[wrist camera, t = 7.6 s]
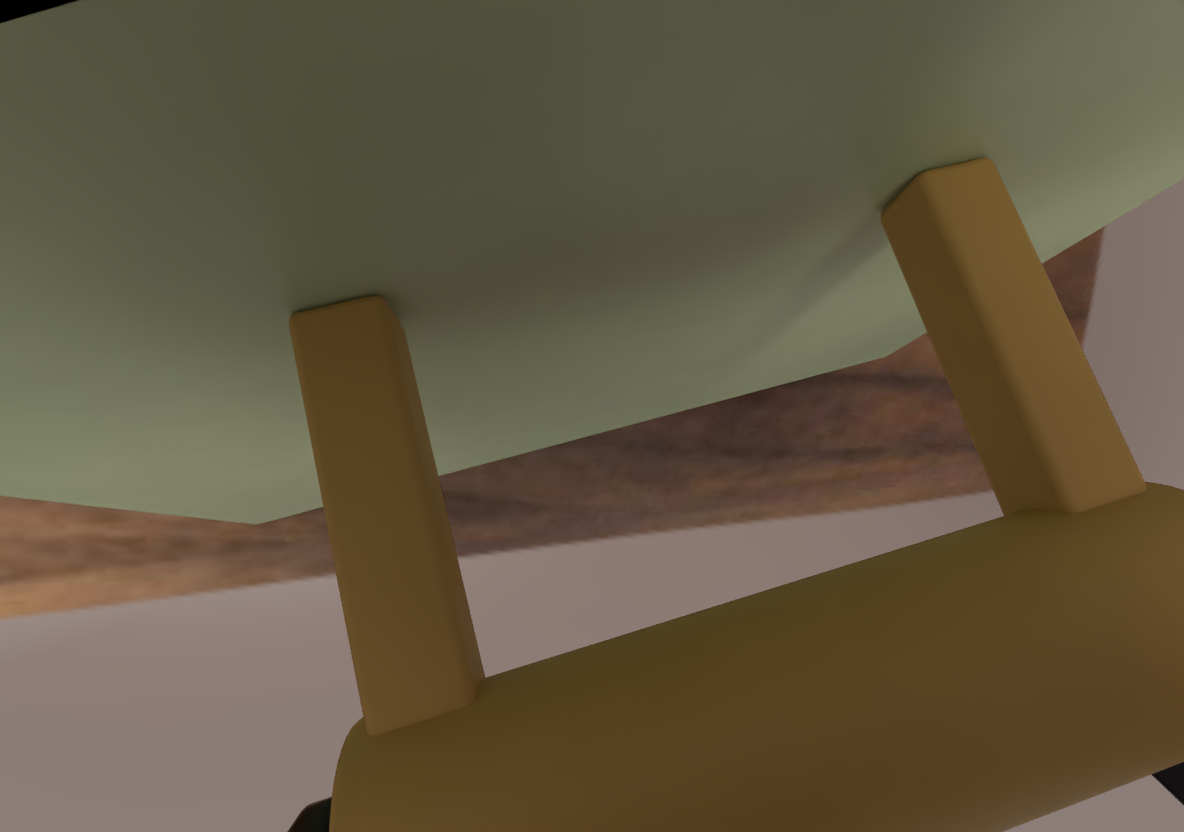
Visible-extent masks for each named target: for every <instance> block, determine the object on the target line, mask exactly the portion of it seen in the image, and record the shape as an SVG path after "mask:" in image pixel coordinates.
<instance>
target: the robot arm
mask: <svg viewBox="0 0 1184 832" xmlns="http://www.w3.org/2000/svg"><path fill="white" fill-rule="evenodd" d="M1151 775H1152V776H1154V777H1155V778H1156V779H1157V780H1158V781H1159V782H1160V783H1161V784H1162V785H1163V786H1164V787H1165V788H1166V789H1167V790H1168V791H1169V792H1170V793H1171V794H1172V795H1173V796H1174V797H1175V798H1177V799H1178V800H1179V801H1180V802H1181V803H1182V804H1183V805H1184V762H1182V763H1179V764H1177V765H1174V766H1172V767H1169V768H1166V769H1164V770H1161V771H1159V772H1156V773H1153V774H1151ZM331 800H332V797H330V798H327V799H324V800H321V801H318V802H314V803H312V804H310V805H308V806H306V807H305V808H304V809H303V810H302V811H301V813H300V814H299V816H298V817H297V819H296V820H295V821H294V823H293V824H292V826H291V827H290V829H289V830H288V832H329V824H330V812H331Z"/></svg>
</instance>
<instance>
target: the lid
mask: <svg viewBox="0 0 1184 832" xmlns="http://www.w3.org/2000/svg"><path fill="white" fill-rule="evenodd" d="M1182 179H1184V0H0V496H8V497H17V498H26V499H35V500H43V501H52V502H61V503H70V504H79V505H88V506H96V507H105V508H114V509H123V510H132V511H141V512H150V513H158V514H167V515H176V516H185V517H194V518H203V519H211V520H220V521H229V522H238V523H247V524H256V525H257V524H261V523H265V522H269V521H272V520H276V519H280V518H284V517H287V516H291V515H295V514H299V513H302V512H306V511H310V510H314V509H317V508H321V507H323V508H324V513H325V518H326V523H327V529H328V534H329V539H330V544H331V550H332V555H333V560H334V565H335V570H336V576H337V581H338V586H339V591H340V597H341V602H342V607H343V612H344V618H345V623H346V628H347V633H348V638H349V644H350V649H351V654H352V659H353V665H354V670H355V675H356V680H357V686H358V691H359V696H360V701H361V707H362V712H363V718H362V719H360V720H359V721H358V722H357V723H356V724H355V725H354V726H353V727H352V729H351V730H350V732H349V734H348V735H347V737H346V740H345V742H344V745H343V747H342V750H341V753H340V757H339V760H338V764H337V769H336V774H335V779H334V786H333V793H332V800H331V812H330V824H329V832H1003V831H1006V830H1008V829H1011V828H1013V827H1016V826H1018V825H1021V824H1024V823H1026V822H1029V821H1031V820H1034V819H1037V818H1039V817H1042V816H1044V815H1047V814H1050V813H1052V812H1054V811H1057V810H1060V809H1063V808H1065V807H1068V806H1070V805H1073V804H1076V803H1078V802H1081V801H1083V800H1086V799H1089V798H1091V797H1094V796H1096V795H1099V794H1102V793H1104V792H1107V791H1109V790H1112V789H1114V788H1117V787H1120V786H1122V785H1125V784H1127V783H1130V782H1133V781H1135V780H1138V779H1140V778H1143V777H1145V776H1148V775H1151V774H1153V773H1156V772H1159V771H1161V770H1164V769H1166V768H1169V767H1172V766H1174V765H1177V764H1179V763H1182V762H1184V490H1182V489H1178V488H1175V487H1172V486H1168V485H1162V484H1157V483H1150V482H1145V481H1144V479H1143V477H1142V475H1141V473H1140V471H1139V469H1138V467H1137V464H1136V463H1135V460H1134V458H1133V456H1132V454H1131V452H1130V450H1129V447H1128V446H1127V443H1126V441H1125V439H1124V437H1123V435H1122V433H1121V431H1120V428H1119V426H1118V424H1117V422H1116V420H1115V418H1114V416H1113V414H1112V411H1111V409H1110V407H1109V405H1108V403H1107V401H1106V399H1105V397H1104V395H1103V392H1102V390H1101V388H1100V386H1099V384H1098V382H1097V380H1096V378H1095V375H1094V373H1093V371H1092V369H1091V367H1090V365H1089V363H1088V361H1087V359H1086V356H1085V354H1084V352H1083V350H1082V348H1081V346H1080V344H1079V341H1078V339H1077V337H1076V335H1075V333H1074V331H1073V329H1072V327H1071V325H1070V322H1069V320H1068V318H1067V316H1066V314H1065V312H1064V310H1063V308H1062V305H1061V303H1060V301H1059V299H1058V297H1057V295H1056V293H1055V291H1054V289H1053V286H1052V284H1051V282H1050V280H1049V278H1048V276H1047V274H1046V272H1045V269H1044V267H1043V265H1042V263H1043V262H1045V261H1047V260H1048V259H1050V258H1052V257H1053V256H1055V255H1057V254H1059V253H1060V252H1062V251H1064V250H1065V249H1067V248H1069V247H1070V246H1072V245H1074V244H1075V243H1077V242H1079V241H1080V240H1082V239H1084V238H1085V237H1087V236H1089V235H1090V234H1092V233H1094V232H1095V231H1097V230H1099V229H1100V228H1102V227H1104V226H1105V225H1107V224H1109V223H1110V222H1112V221H1114V220H1115V219H1117V218H1119V217H1120V216H1122V215H1124V214H1125V213H1127V212H1129V211H1130V210H1132V209H1134V208H1135V207H1137V206H1139V205H1140V204H1142V203H1144V202H1145V201H1147V200H1149V199H1150V198H1152V197H1154V196H1156V195H1157V194H1159V193H1161V192H1162V191H1164V190H1165V189H1167V188H1169V187H1171V186H1172V185H1174V184H1175V183H1177V182H1179V181H1181V180H1182ZM926 332H927V333H928V335H929V338H930V340H931V343H932V345H933V347H934V350H935V352H936V355H937V357H938V359H939V362H940V364H941V366H942V369H943V371H944V374H945V376H946V378H947V381H948V383H949V386H950V388H951V390H952V393H953V395H954V397H955V400H956V402H957V405H958V407H959V409H960V412H961V414H962V417H963V419H964V421H965V424H966V426H967V428H968V431H969V433H970V436H971V438H972V440H973V443H974V445H975V448H976V450H977V452H978V455H979V457H980V459H981V462H982V464H983V467H984V469H985V471H986V474H987V476H988V479H989V481H990V483H991V486H992V488H993V491H994V493H995V495H996V498H997V500H998V502H999V505H1000V507H1001V509H1002V512H1003V514H1004V516H1003V517H1000V518H997V519H994V520H990V521H987V522H984V523H981V524H978V525H974V526H971V527H968V528H965V529H962V530H958V531H955V532H952V533H949V534H946V535H942V536H939V537H936V538H933V539H930V540H926V541H923V542H920V543H917V544H914V545H910V546H907V547H904V548H901V549H897V550H894V551H891V552H888V553H885V554H881V555H878V556H875V557H872V558H868V559H866V560H862V561H859V562H856V563H852V564H849V565H846V566H843V567H840V568H836V569H833V570H830V571H827V572H824V573H820V574H817V575H814V576H811V577H807V578H804V579H801V580H798V581H795V582H791V583H788V584H785V585H782V586H779V587H775V588H772V589H769V590H766V591H763V592H760V593H756V594H753V595H750V596H747V597H743V598H740V599H737V600H734V601H730V602H727V603H724V604H721V605H718V606H714V607H711V608H708V609H705V610H702V611H698V612H695V613H692V614H689V615H686V616H683V617H679V618H676V619H673V620H670V621H667V622H664V623H660V624H657V625H654V626H651V627H647V628H644V629H641V630H637V631H634V632H632V633H628V634H625V635H621V636H619V637H615V638H612V639H609V640H606V641H602V642H599V643H596V644H593V645H589V646H587V647H583V648H580V649H577V650H573V651H570V652H567V653H564V654H560V655H557V656H554V657H551V658H548V659H544V660H541V661H538V662H535V663H532V664H529V665H525V666H522V667H519V668H516V669H512V670H509V671H506V672H503V673H500V674H496V675H493V676H490V677H487V678H485V675H484V671H483V667H482V662H481V658H480V653H479V649H478V645H477V641H476V636H475V632H474V628H473V624H472V619H471V615H470V610H469V606H468V602H467V598H466V593H465V589H464V585H463V581H462V576H461V572H460V568H459V564H458V559H457V554H456V550H455V546H454V542H453V537H452V533H451V529H450V524H449V520H448V516H447V511H446V507H445V503H444V498H443V494H442V490H441V486H440V481H439V477H438V476H441V475H445V474H448V473H452V472H456V471H460V470H463V469H467V468H471V467H475V466H478V465H482V464H486V463H490V462H493V461H497V460H501V459H505V458H508V457H512V456H516V455H520V454H523V453H527V452H531V451H535V450H538V449H542V448H546V447H550V446H553V445H557V444H561V443H565V442H568V441H572V440H576V439H580V438H583V437H587V436H591V435H595V434H598V433H602V432H606V431H610V430H613V429H617V428H621V427H625V426H628V425H632V424H636V423H640V422H643V421H647V420H651V419H654V418H658V417H662V416H666V415H669V414H673V413H677V412H681V411H684V410H688V409H692V408H696V407H699V406H703V405H707V404H711V403H714V402H718V401H722V400H726V399H729V398H733V397H737V396H741V395H744V394H748V393H752V392H756V391H759V390H763V389H767V388H771V387H774V386H778V385H782V384H786V383H789V382H793V381H797V380H801V379H804V378H808V377H812V376H816V375H819V374H823V373H827V372H831V371H834V370H838V369H842V368H846V367H849V366H853V365H857V364H861V363H864V362H868V361H872V360H876V359H879V358H883V357H886V356H888V355H890V354H891V353H893V352H895V351H896V350H898V349H900V348H901V347H903V346H905V345H906V344H908V343H910V342H911V341H913V340H915V339H916V338H918V337H920V336H921V335H923V334H925V333H926Z"/></svg>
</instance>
